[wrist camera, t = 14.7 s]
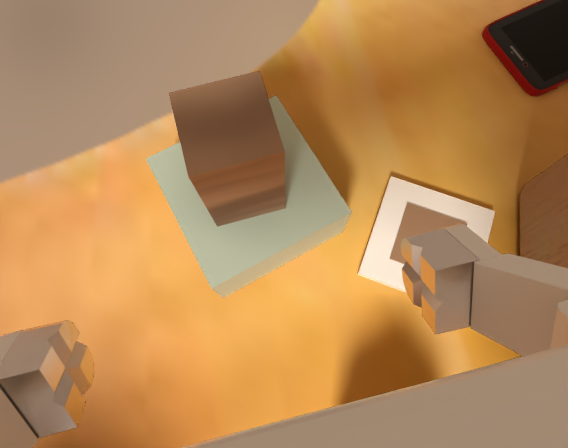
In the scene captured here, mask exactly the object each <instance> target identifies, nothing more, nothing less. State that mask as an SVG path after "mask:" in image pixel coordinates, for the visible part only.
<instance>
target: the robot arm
mask: <svg viewBox="0 0 568 448" xmlns="http://www.w3.org/2000/svg"><path fill="white" fill-rule="evenodd" d="M401 254H402V256H403V257H404V258H405V259H406V263H405V264H404V266H403V267H402V277H403V282H404V286H405V290H406V292H407V294H408V296H409V298H410V299H411V301H412V302H413V304H415V305H417V306H419V307H422V317H423V318H424V319H425V321H426V322H427V323H428V325H429V326H430V328H431V329H432V330H433V332H434V333H435V335H436V334H440V333H444V332H449V331H453V330H457V329H462V328H466V327H470V326H471V329H473V330H475V331H477V332H479V333H481V334H483V335H484V336H486V337H488V338H490V339H492V340H494V341H496V342H498V343H499V344H501V345H503V346H505V347H507V348H509V349H511V350H512V351H514V352H516V353H518V354H520V355H522V357H519V358H515V359H511V360H507V361H504V362H500V363H496V364H492V365H489V366H485V367H481V368H478V369H474V370H470V371H467V372H463V373H459V374H455V375H452V376H448V377H444V378H440V379H436V380H433V381H429V382H425V383H421V384H417V385H414V386H410V387H406V388H402V389H399V390H395V391H391V392H387V393H383V394H380V395H376V396H372V397H368V398H364V399H361V400H357V401H353V402H349V403H345V404H342V405H338V406H334V407H330V408H327V409H323V410H319V411H315V412H311V413H308V414H304V415H300V416H296V417H293V418H289V419H285V420H281V421H278V422H274V423H270V424H266V425H263V426H259V427H255V428H251V429H248V430H244V431H240V432H236V433H233V434H229V435H225V436H221V437H218V438H214V439H210V440H206V441H203V442H199V443H195V444H191V445H188V446H184V447H180V448H568V268H564V267H560V266H556V265H552V264H548V263H544V262H541V261H537V260H533V259H529V258H525V257H521V256H517V255H513V254H509V253H508V254H504V255H502V254H501V253H499V252H498V251H497V250H496V249H494V248H493V247H492V246H491V245H489V244H488V243H487V242H486V241H484V240H483V239H482V238H481V237H479V236H478V235H477V234H476V233H474V232H473V231H472V230H471V229H469V228H468V227H467V226H466V225H464V224H460V223H459V224H456V225H452V226H449V227H445V228H441V229H439V230H435V231H431V232H427V233H424V234H420V235H416V236H412V237H408V238H405V239H402V241H401ZM78 336H79V331H78V329H77V328H76V326H75V325H74V323H73V322H71V321H68V320H65V321H61V322H56V323H52V324H47V325H43V326H38V327H34V328H29V329H25V330H20V331H16V332H12V333H8V334H4V335H2V336H0V448H33V447H34V446H35V444H36V443H37V442H38V441H39V439H38V438H41V437H45V436H48V435H52V434H55V433H59V432H62V431H66V430H69V429H73V428H76V427H78V424H79V421H80V418H81V415H82V412H83V409H84V406H85V403H86V401H85V400H84V398H83V396H82V395H83V394H84V393H85V392H86V391H87V389H88V388H89V387H90V386H91V384H92V381H93V377H94V362H93V358H92V355H91V353H90V351H89V349H88V347H87V346H85V345H83V344H81V343H79V342H77V339H78Z"/></svg>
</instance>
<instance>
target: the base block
mask: <svg viewBox="0 0 568 448" xmlns="http://www.w3.org/2000/svg"><path fill="white" fill-rule="evenodd" d="M269 102H270V105H271V108H272V112H273V115H274V118H275V121H276V124H277V128H278V131H279V134H280V137H281V140H282V144H283V147H284V150H285V209H281V210H277V211H274V212H270V213H266V214H263V215H259V216H255V217H252V218H248V219H244V220H240V221H237V222H233V223H229V224H226V225H222V226H218V227H217V225H216V224H215V222H214V220H213V218H212V217H211V215H210V213H209V212H208V210H207V208H206V206H205V205H204V203H203V201H202V199H201V198H200V196H199V194H198V193H197V191H196V189H195V187H194V186H193V184H192V182H191V180H190V179H189V177H188V173H187V169H186V165H185V160H184V156H183V152H182V148H181V143H180V142H179V143H177V144H175V145H173V146H171V147H169V148H167V149H165V150H163V151H161V152H159V153H156V154H154V155H152V156H150V157H148V158H146V160H147V162H148V164H149V166H150V168H151V170H152V172H153V174H154V176H155V178H156V180H157V181H158V183H159V185H160V187H161V189H162V191H163V193H164V195H165V197H166V199H167V201H168V203H169V205H170V207H171V209H172V211H173V213H174V215H175V217H176V219H177V221H178V223H179V225H180V227H181V229H182V231H183V233H184V235H185V237H186V239H187V241H188V243H189V245H190V247H191V249H192V251H193V253H194V255H195V257H196V259H197V261H198V263H199V265H200V267H201V269H202V271H203V273H204V275H205V277H206V278H207V280H208V282H209V284H210V286H211V288H212V289H213V290H214V291H215V292H216V293H218V294H219V295H220V296H221V297H223V298H225V297H227V296H228V295H230V294H232V293H234V292H236V291H237V290H239V289H241V288H243V287H245V286H246V285H248V284H250V283H252V282H254V281H255V280H257V279H259V278H261V277H263V276H264V275H266V274H268V273H270V272H272V271H273V270H275V269H277V268H279V267H281V266H282V265H284V264H286V263H288V262H290V261H292V260H293V259H295V258H297V257H299V256H301V255H302V254H304V253H306V252H308V251H310V250H311V249H313V248H315V247H317V246H319V245H320V244H322V243H324V242H326V241H328V240H329V239H331V238H333V237H335V236H337V235H338V234H340V233H342V232H343V230H344V228H345V226H346V224H347V221H348V219H349V217H350V215H351V210H350V209H349V207H348V205H347V204H346V202H345V201H344V199H343V198H342V196H341V195H340V193H339V191H338V190H337V188H336V187H335V185H334V184H333V182H332V181H331V179H330V178H329V176H328V174H327V173H326V171H325V170H324V168H323V167H322V165H321V164H320V162H319V161H318V159H317V157H316V156H315V154H314V153H313V151H312V150H311V148H310V147H309V145H308V144H307V142H306V140H305V139H304V137H303V136H302V134H301V133H300V131H299V130H298V128H297V126H296V125H295V123H294V122H293V120H292V119H291V117H290V116H289V114H288V113H287V111H286V109H285V108H284V106H283V105H282V103H281V102H280V100H279V99H278V97H277V96H276V95H275V96H273V97H271V98H269Z"/></svg>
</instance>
